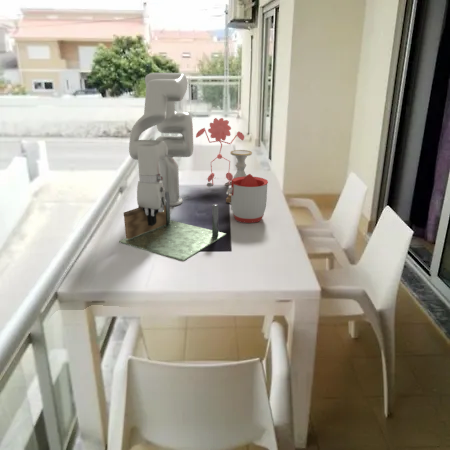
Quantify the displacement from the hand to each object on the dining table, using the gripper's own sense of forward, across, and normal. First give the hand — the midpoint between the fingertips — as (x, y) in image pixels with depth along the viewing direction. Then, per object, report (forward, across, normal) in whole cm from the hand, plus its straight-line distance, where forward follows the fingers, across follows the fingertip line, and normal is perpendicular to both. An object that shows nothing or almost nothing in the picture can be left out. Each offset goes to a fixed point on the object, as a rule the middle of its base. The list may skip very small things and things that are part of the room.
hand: (152, 224), depth 167 cm
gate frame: (+5, -8, -2) cm, 10 cm away
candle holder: (+5, -16, -56) cm, 59 cm away
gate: (+4, +4, -2) cm, 6 cm away
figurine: (+5, +7, -84) cm, 85 cm away
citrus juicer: (+5, -27, -33) cm, 43 cm away
